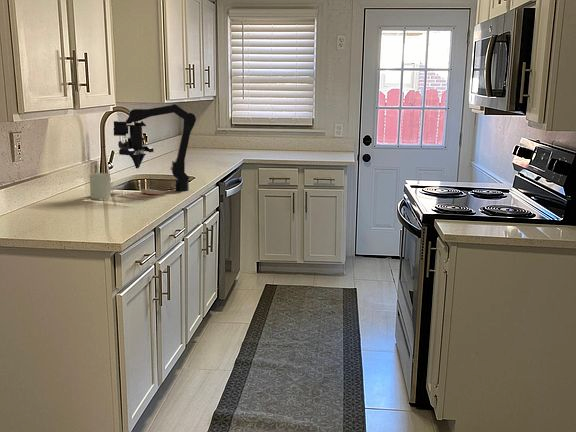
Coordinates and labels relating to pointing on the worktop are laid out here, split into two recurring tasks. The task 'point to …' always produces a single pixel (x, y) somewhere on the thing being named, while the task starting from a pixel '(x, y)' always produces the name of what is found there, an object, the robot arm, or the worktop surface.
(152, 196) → the board
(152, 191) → the tile
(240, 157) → the worktop surface
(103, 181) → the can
